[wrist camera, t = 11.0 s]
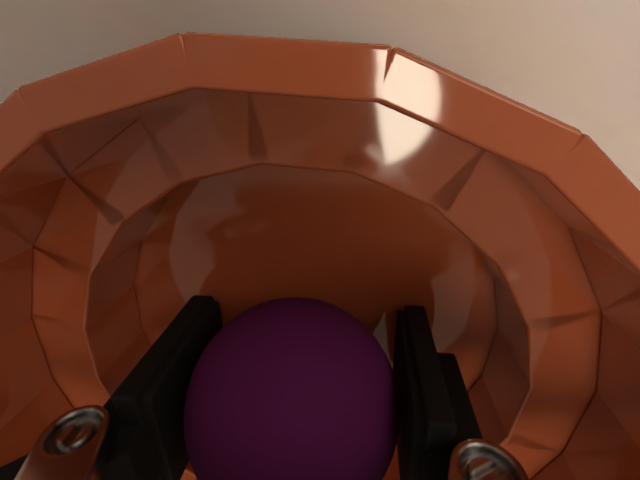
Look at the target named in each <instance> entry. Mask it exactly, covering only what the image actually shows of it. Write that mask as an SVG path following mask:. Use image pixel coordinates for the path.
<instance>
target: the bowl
mask: <svg viewBox="0 0 640 480" xmlns="http://www.w3.org/2000/svg"><path fill="white" fill-rule="evenodd" d="M194 295H202V296H212V297H213V298H214V301H218V302H219V305H220V311H221V317H222V323H223V327H224V326H225V325H226V324H227V323H228V322H229V321H231V320H232V319H233V318H235V317H236V316H237V315H239V314H241V313H242V312H244V311H245V310H247V309H249V308H252V307H254V306H256V305H258V304H261V303H263V302H267V301H270V300H274V299H280V298H289V297H303V298H311V299H317V300H321V301H324V302H327V303H330V304H332V305H335V306H337V307H339V308H341V309H342V310H344V311H346V312H348V313H349V314H351V315H352V316H354V317H355V318H357V319H358V320H359V321H360V322H361V323H362V324H363V325H364V326H365V327H366V328H367V329H368V330H369V331H370V332H371V333H372V334H373V336H374V337H375V338H376V339H377V341H378V342H379V344H380V345H381V347H382V349H383V350H384V352H385V354H386V355H387V357H388V360H389V362H390V364H391V367H392V369H393V357H394V345H395V333H396V321H397V311H398V310H404V307H405V305H409V306H424V307H425V310H426V314H427V317H428V321H429V325H430V328H431V332H432V336H433V339H434V343H435V347H436V350H437V352H439V353H453V354H454V355H455V357H456V359H457V362H458V365H459V368H460V371H461V374H462V377H463V380H464V383H465V386H466V389H467V392H468V395H469V398H470V401H471V404H472V407H473V410H474V413H475V416H476V419H477V422H478V425H479V428H480V431H481V434H482V437H483V440H488V441H491V442H493V443H495V444H497V445H499V446H501V447H503V448H504V449H505V450H507V451H508V452H509V453H511V454H512V455H513V456H514V457H515V458H516V459H517V460H518V462H519V463H520V464H521V465H522V467H523V469H524V470H525V472H526V474H527V476H528V479H529V480H640V191H639V190H638V189H637V188H636V187H635V186H634V184H633V183H632V182H631V181H630V180H629V179H628V178H627V177H626V176H625V175H624V174H623V172H622V171H621V170H620V169H619V168H618V167H617V166H616V165H615V164H614V163H613V162H612V161H611V159H610V158H609V157H608V156H607V155H606V154H605V153H604V152H603V151H602V150H601V149H600V148H599V146H598V145H597V144H596V143H595V142H594V141H593V140H592V139H591V138H590V137H589V136H588V135H586V134H582V133H581V131H580V130H579V129H577V128H574V127H572V126H570V125H568V124H566V123H563V122H561V121H559V120H557V119H555V118H552V117H550V116H548V115H546V114H544V113H541V112H539V111H537V110H535V109H533V108H530V107H528V106H526V105H524V104H522V103H519V102H517V101H515V100H513V99H511V98H508V97H506V96H504V95H502V94H500V93H497V92H495V91H493V90H491V89H489V88H486V87H484V86H482V85H480V84H478V83H475V82H473V81H471V80H469V79H467V78H464V77H462V76H460V75H458V74H455V73H453V72H451V71H449V70H447V69H444V68H442V67H440V66H438V65H436V64H433V63H431V62H429V61H427V60H425V59H422V58H420V57H418V56H416V55H414V54H411V53H409V52H407V51H405V50H403V49H400V48H393V49H392V48H391V46H389V45H385V44H369V43H353V42H338V41H322V40H306V39H291V38H275V37H260V36H244V35H228V34H213V33H197V32H186V33H184V34H180V33H177V34H174V35H171V36H168V37H165V38H162V39H159V40H156V41H153V42H150V43H147V44H144V45H141V46H138V47H136V48H133V49H130V50H127V51H124V52H121V53H118V54H115V55H112V56H109V57H106V58H103V59H100V60H97V61H94V62H91V63H88V64H85V65H82V66H79V67H76V68H73V69H70V70H67V71H64V72H62V73H59V74H56V75H53V76H50V77H47V78H44V79H41V80H38V81H35V82H32V83H29V84H26V85H23V86H21V87H19V88H18V90H15V91H14V92H13V93H12V94H11V95H10V96H9V97H8V98H7V99H6V100H5V101H4V102H3V103H2V104H1V105H0V467H2V466H4V465H6V464H8V463H10V462H12V461H14V460H16V459H18V458H20V457H23V456H25V455H27V454H29V453H30V451H31V449H32V447H33V446H34V444H35V442H36V440H37V439H38V437H39V436H40V434H41V433H42V432H43V430H44V429H45V428H46V427H47V426H48V425H49V424H50V423H51V422H53V421H54V420H55V419H56V418H58V417H60V416H61V415H63V414H64V413H66V412H68V411H70V410H72V409H75V408H78V407H81V406H85V405H99V406H104V404H105V403H106V402H107V401H108V399H109V398H110V397H111V396H112V394H113V393H114V392H115V391H116V389H117V388H118V387H119V386H120V385H121V383H122V382H123V381H124V380H125V378H126V377H127V376H128V375H129V373H130V372H131V371H132V370H133V368H134V367H135V366H136V365H137V363H138V362H139V361H140V360H141V359H142V357H143V356H144V355H145V354H146V352H147V351H148V350H149V349H150V347H151V346H152V345H153V344H154V342H155V341H156V340H157V339H158V338H159V337H160V335H161V334H162V333H163V332H164V330H165V329H166V328H167V327H168V326H169V324H170V323H171V322H172V321H173V319H174V318H175V317H176V316H177V314H178V313H179V312H180V311H181V309H182V308H183V307H184V306H185V304H186V303H187V302H188V301H189V299H190V298H191V297H192V296H194ZM180 480H197V478H196V476H195V474H194V472H193V469H192V466H191V463H190V461H189V462H188V464H187V466H186V469H185V471H184V473H183V475H182V477H181V479H180ZM382 480H400V474H399V463H398V452H397V444H396V448H395V451H394V455H393V458H392V460H391V463H390V465H389V468H388V470H387V472H386V474H385V476H384V478H383V479H382Z"/></svg>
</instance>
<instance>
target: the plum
mask: <svg viewBox="0 0 640 480" xmlns="http://www.w3.org/2000/svg"><path fill="white" fill-rule="evenodd" d="M183 420H184V439H185V444H186V450H187V454H188V457H189V461H190V463H191V466H192V469H193V472H194V474H195V476H196V478H197V480H382V479H383V478H384V476H385V474H386V472H387V470H388V468H389V465H390V463H391V460H392V458H393V455H394V451H395V448H396V444H397V440H398V433H399V425H400V401H399V393H398V388H397V383H396V379H395V375H394V372H393V370H392V367H391V364H390V362H389V360H388V357H387V355H386V354H385V352H384V350H383V349H382V347H381V345H380V344H379V342H378V341H377V339H376V338H375V337H374V336H373V334H372V333H371V332H370V331H369V330H368V329H367V328H366V327H365V326H364V325H363V324H362V323H361V322H360V321H359V320H358V319H357V318H355V317H354V316H352V315H351V314H349V313H348V312H346V311H344V310H342V309H341V308H339V307H337V306H335V305H332V304H330V303H327V302H324V301H321V300H317V299H311V298H303V297H289V298H280V299H274V300H270V301H267V302H263V303H261V304H258V305H256V306H254V307H252V308H249V309H247V310H245V311H244V312H242V313H241V314H239V315H237V316H236V317H235V318H233V319H232V320H231V321H229V322H228V323H227V324H226V325H225V326H224V327H223V328H222V329H221V330H220V331H219V332H218V333H217V334H216V335H215V336H214V337H213V339H212V340H211V341H210V342H209V344H208V345H207V347H206V348H205V350H204V351H203V353H202V354H201V356H200V358H199V360H198V362H197V364H196V366H195V368H194V370H193V373H192V376H191V379H190V382H189V385H188V389H187V392H186V399H185V407H184V415H183Z"/></svg>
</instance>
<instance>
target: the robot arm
mask: <svg viewBox="0 0 640 480" xmlns="http://www.w3.org/2000/svg"><path fill="white" fill-rule="evenodd" d="M222 328H223V323H222V317H221V311H220V305H219V302H218V301H214V298H213V297H212V296H202V295H194V296H192V297H191V298H190V299H189V301H188V302H187V303H186V304H185V306H184V307H183V308H182V309H181V311H180V312H179V313H178V314H177V316H176V317H175V318H174V319H173V321H172V322H171V323H170V324H169V326H168V327H167V328H166V329H165V330H164V332H163V333H162V334H161V335H160V337H159V338H158V339H157V340H156V341H155V342H154V344H153V345H152V346H151V347H150V349H149V350H148V351H147V352H146V354H145V355H144V356H143V357H142V359H141V360H140V361H139V362H138V363H137V365H136V366H135V367H134V368H133V370H132V371H131V372H130V373H129V375H128V376H127V377H126V378H125V380H124V381H123V382H122V383H121V385H120V386H119V387H118V388H117V389H116V391H115V392H114V393H113V394H112V396H111V397H110V398H109V399H108V401H107V402H106V403H105V404H104V406H99V405H85V406H81V407H78V408H75V409H72V410H70V411H68V412H66V413H64V414H63V415H61V416H60V417H58V418H56V419H55V420H54V421H53V422H51V423H50V424H49V425H48V426H47V427H46V428H45V429H44V430H43V432H42V433H41V434H40V436H39V437H38V439H37V440H36V442H35V444H34V446H33V447H32V449H31V451H30V453H29V454H27V455H25V456H23V457H20V458H18V459H16V460H14V461H12V462H10V463H8V464H6V465H4V466H2V467H0V480H180V479H181V477H182V475H183V473H184V471H185V469H186V466H187V464H188V462H189V457H188V454H187V450H186V444H185V439H184V420H183V415H184V407H185V399H186V392H187V389H188V385H189V382H190V379H191V376H192V373H193V370H194V368H195V366H196V364H197V362H198V360H199V358H200V356H201V354H202V353H203V351H204V350H205V348H206V347H207V345H208V344H209V342H210V341H211V340H212V339H213V337H214V336H215V335H216V334H217V333H218V332H219V331H220V330H221V329H222ZM392 370H393V372H394V375H395V379H396V383H397V388H398V393H399V401H400V425H399V433H398V440H397V452H398V463H399V474H400V480H529V479H528V476H527V474H526V472H525V470H524V469H523V467H522V465H521V464H520V463H519V462H518V460H517V459H516V458H515V457H514V456H513V455H512V454H511V453H509V452H508V451H507V450H505V449H504V448H503V447H501V446H499V445H497V444H495V443H493V442H491V441H488V440H483V437H482V434H481V431H480V428H479V425H478V422H477V419H476V416H475V413H474V410H473V407H472V404H471V401H470V398H469V395H468V392H467V389H466V386H465V383H464V380H463V377H462V374H461V371H460V368H459V365H458V362H457V359H456V357H455V355H454V354H453V353H439V352H437V350H436V347H435V343H434V339H433V336H432V332H431V328H430V325H429V321H428V317H427V314H426V310H425V307H424V306H409V305H405V307H404V310H398V311H397V321H396V333H395V345H394V357H393V369H392Z"/></svg>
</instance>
